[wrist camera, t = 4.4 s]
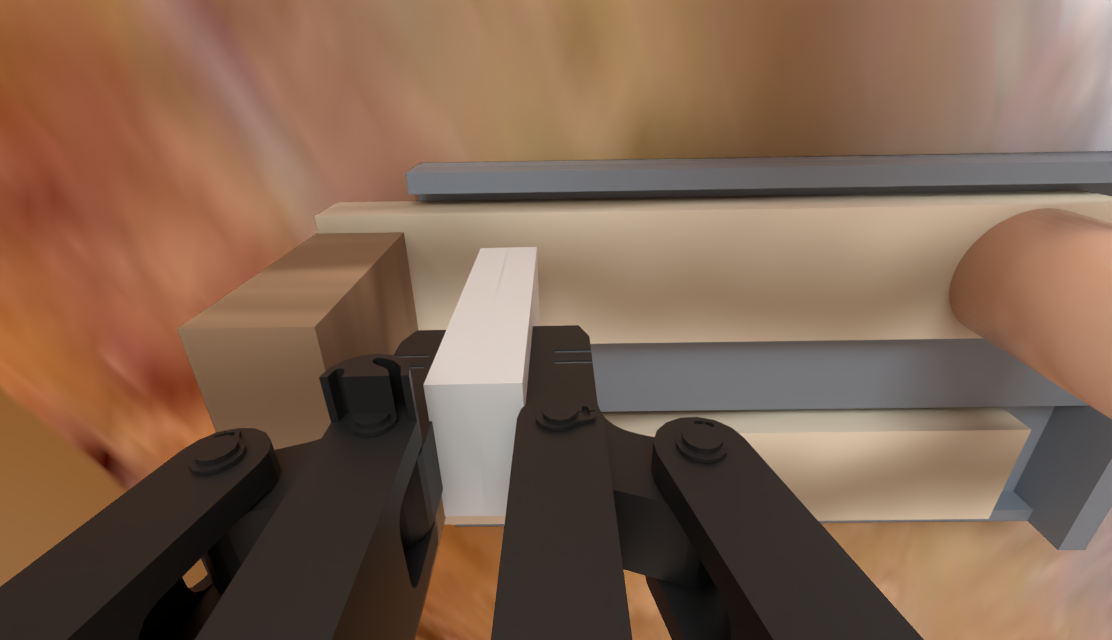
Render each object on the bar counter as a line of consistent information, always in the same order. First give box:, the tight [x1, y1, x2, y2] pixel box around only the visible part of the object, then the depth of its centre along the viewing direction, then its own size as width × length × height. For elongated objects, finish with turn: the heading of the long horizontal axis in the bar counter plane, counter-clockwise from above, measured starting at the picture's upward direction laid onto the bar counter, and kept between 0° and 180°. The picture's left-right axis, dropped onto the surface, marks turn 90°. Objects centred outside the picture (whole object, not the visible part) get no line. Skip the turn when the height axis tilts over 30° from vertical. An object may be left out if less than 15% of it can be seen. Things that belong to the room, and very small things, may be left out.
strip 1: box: [177, 190, 1112, 450], centre depth 13 cm, size 4×23×8 cm, turn 91°
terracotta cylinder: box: [949, 208, 1112, 419], centre depth 13 cm, size 4×4×5 cm
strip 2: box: [415, 407, 1031, 639], centre depth 17 cm, size 4×23×8 cm, turn 91°
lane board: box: [406, 151, 1112, 550], centre depth 18 cm, size 14×24×3 cm, turn 91°
